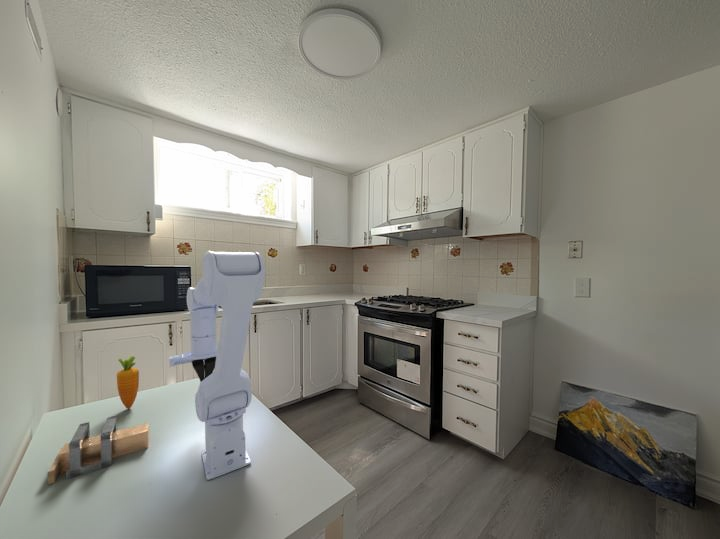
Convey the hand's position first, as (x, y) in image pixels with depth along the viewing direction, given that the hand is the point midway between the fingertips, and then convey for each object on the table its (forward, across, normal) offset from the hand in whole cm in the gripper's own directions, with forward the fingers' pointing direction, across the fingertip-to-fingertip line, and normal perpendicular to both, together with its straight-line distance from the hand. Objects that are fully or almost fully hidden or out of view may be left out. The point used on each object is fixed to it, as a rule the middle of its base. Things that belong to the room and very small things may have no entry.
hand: (204, 388), depth 72 cm
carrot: (+10, +17, -22) cm, 29 cm away
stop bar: (+9, +26, +1) cm, 28 cm away
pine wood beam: (+10, +18, 0) cm, 21 cm away
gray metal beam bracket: (+9, +22, +1) cm, 23 cm away
